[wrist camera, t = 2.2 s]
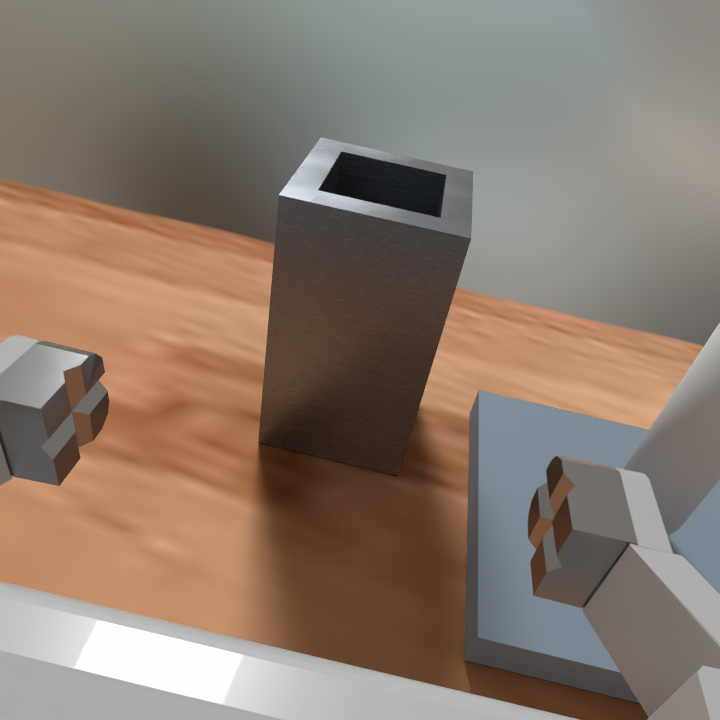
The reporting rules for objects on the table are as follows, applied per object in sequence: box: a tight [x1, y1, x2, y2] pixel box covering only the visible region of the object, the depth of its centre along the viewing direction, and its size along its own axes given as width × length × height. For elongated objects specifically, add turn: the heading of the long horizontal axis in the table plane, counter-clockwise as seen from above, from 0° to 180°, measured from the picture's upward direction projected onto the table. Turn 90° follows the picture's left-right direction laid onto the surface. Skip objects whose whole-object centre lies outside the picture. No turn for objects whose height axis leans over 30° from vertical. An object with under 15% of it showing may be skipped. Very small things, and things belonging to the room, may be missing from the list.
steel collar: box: [258, 138, 473, 476], centre depth 24 cm, size 6×6×11 cm
